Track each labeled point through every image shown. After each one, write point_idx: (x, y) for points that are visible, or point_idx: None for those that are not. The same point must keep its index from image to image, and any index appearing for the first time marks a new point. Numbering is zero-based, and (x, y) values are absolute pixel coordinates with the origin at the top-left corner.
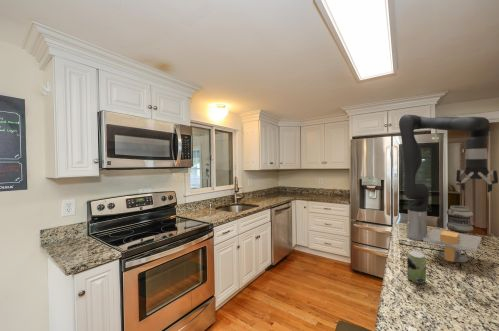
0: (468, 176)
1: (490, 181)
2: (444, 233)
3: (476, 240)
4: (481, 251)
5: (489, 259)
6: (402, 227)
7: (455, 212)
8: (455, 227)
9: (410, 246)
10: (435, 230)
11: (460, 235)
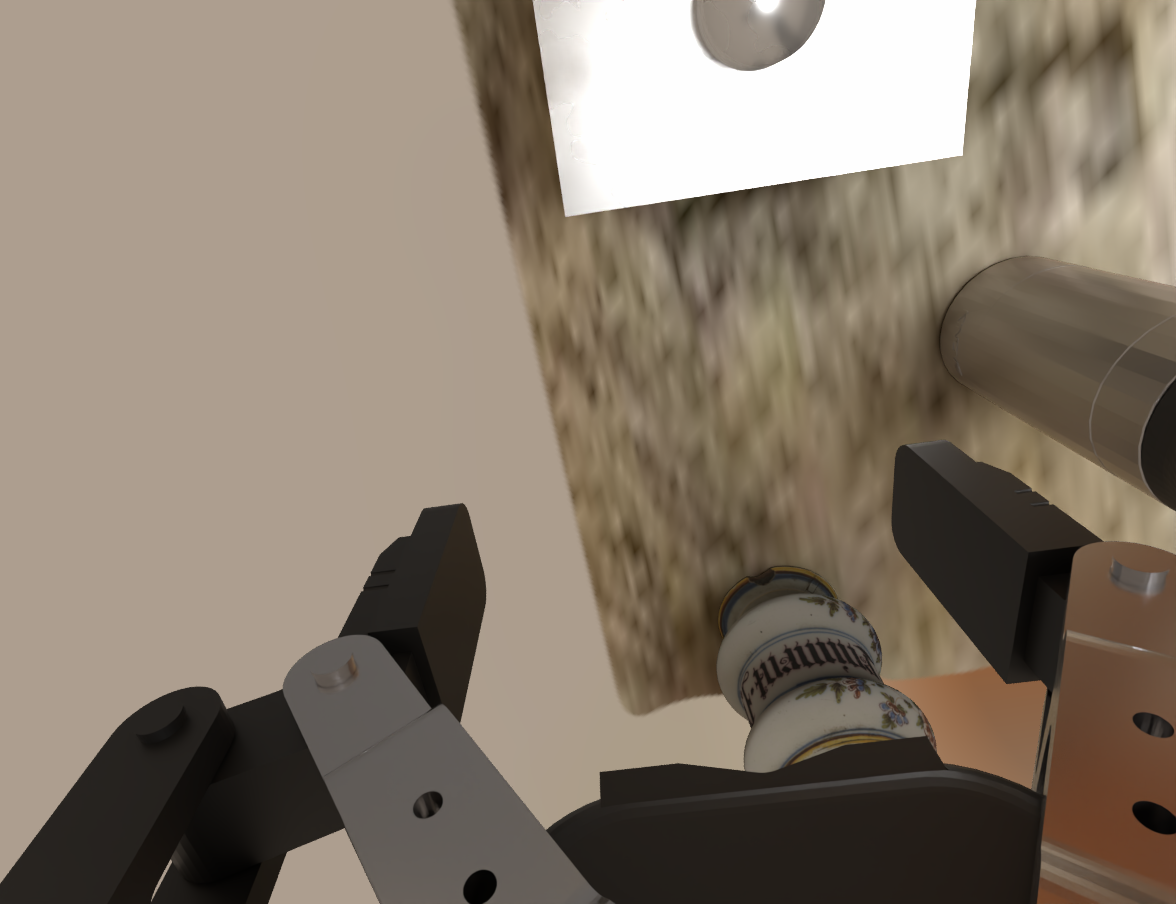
0: (1155, 783)
1: (301, 718)
2: None
3: (560, 24)
4: (611, 389)
5: (539, 257)
6: (1149, 522)
7: (867, 711)
8: (815, 605)
9: (1030, 43)
10: (933, 88)
11: (706, 96)
